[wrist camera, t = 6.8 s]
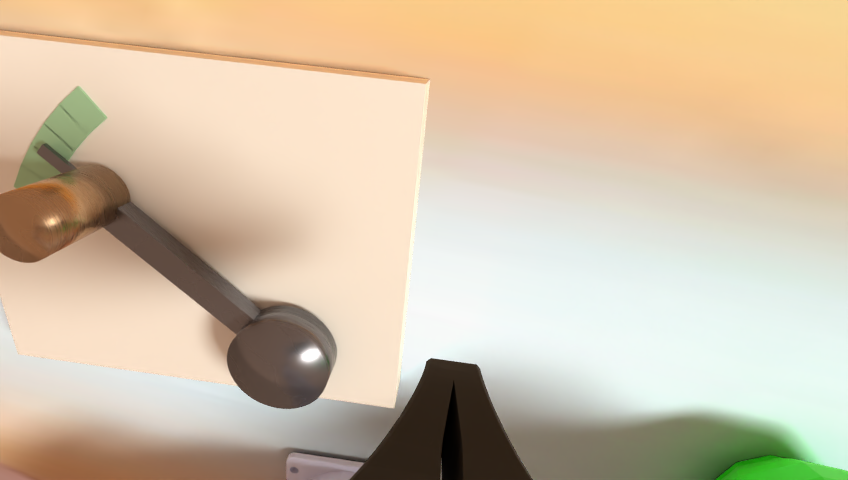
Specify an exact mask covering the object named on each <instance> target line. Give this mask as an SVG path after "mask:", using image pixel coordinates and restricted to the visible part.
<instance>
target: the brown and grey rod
mask: <svg viewBox="0 0 848 480" xmlns="http://www.w3.org/2000/svg"><path fill="white" fill-rule="evenodd" d="M37 154H38V155H40V156H41V157H42V158H43V159H45V160H46V161H47V162H48V163H49V164H51V165H52V166H53V167H54V168H56V169H57V170H58V171H59V172H61V173H62V174H59V175H56V176H53V177H50V178H47V179H44V180H41V181H38V182H35V183H32V184H29V185H26V186H23V187H20V188H17V189H14V190H11V191H8V192H5V193H2V194H0V253H2V254H3V255H5V256H6V257H8V258H10V259H13V260H15V261H18V262H23V263H34V262H38V261H40V260H42V259H44V258H46V257H48V256H50V255H52V254H54V253H55V252H57V251H59V250H61V249H63V248H65V247H67V246H69V245H71V244H73V243H75V242H77V241H78V240H80V239H82V238H84V237H86V236H88V235H90V234H92V233H94V232H96V231H98V230H100V229H101V228H104V229H106V230H107V231H108V232H109V233H111V234H112V235H113V236H114V237H115V238H117V239H118V240H119V241H120V242H122V243H123V244H124V245H125V246H127V247H128V248H129V249H130V250H132V251H133V252H134V253H135V254H137V255H138V256H139V257H140V258H142V259H143V260H144V261H145V262H147V263H148V264H149V265H150V266H152V267H153V268H154V269H155V270H157V271H158V272H159V273H160V274H162V275H163V276H164V277H165V278H167V279H168V280H169V281H170V282H172V283H173V284H174V285H175V286H177V287H178V288H179V289H180V290H182V291H183V292H184V293H185V294H187V295H188V296H189V297H190V298H191V299H193V300H194V301H195V302H196V303H198V304H199V305H200V306H201V307H203V308H204V309H205V310H206V311H208V312H209V313H210V314H211V315H213V316H214V317H215V318H216V319H218V320H219V321H220V322H221V323H223V324H224V325H225V326H226V327H228V328H229V329H230V330H231V331H233V332H234V333H235V334H236V337H235V338H234V339H233V340H232V342H231V344H230V346H229V348H228V352H227V365H228V369H229V372H230V374H231V377H232V378H233V380H234V382H235V383H236V384H237V385H238V387H239V388H240V389H241V390H242V391H243V392H244V393H246V394H247V395H248V396H250V397H251V398H253V399H254V400H256V401H258V402H260V403H262V404H265V405H268V406H271V407H276V408H283V409H291V408H298V407H302V406H305V405H308V404H310V403H312V402H313V401H315V400H316V399H317V398H318V397H319V396H320V395H321V394H322V393H323V391H324V389H325V387H326V385H327V382H328V380H329V378H330V375H331V373H332V370H333V368H334V365H335V362H336V358H337V347H336V343H335V340H334V338H333V335H332V334H331V332H330V330H329V329H328V328H327V327H326V325H325V324H324V323H323V322H322V321H321V320H319V319H318V318H317V317H315V316H314V315H312V314H311V313H309V312H307V311H305V310H302V309H299V308H296V307H291V306H271V307H267V308H264V309H262V310H261V309H260V308H258V307H257V306H256V305H255V304H254V303H252V302H251V301H250V300H249V299H248V298H246V297H245V296H244V295H243V294H242V293H240V292H239V291H238V290H237V289H236V288H234V287H233V286H232V285H231V284H230V283H228V282H227V281H226V280H225V279H224V278H222V277H221V276H220V275H219V274H218V273H216V272H215V271H214V270H213V269H212V268H210V267H209V266H208V265H207V264H206V263H204V262H203V261H202V260H201V259H199V258H198V257H197V256H196V255H195V254H193V253H192V252H191V251H190V250H189V249H187V248H186V247H185V246H184V245H183V244H181V243H180V242H179V241H178V240H177V239H175V238H174V237H173V236H172V235H171V234H169V233H168V232H167V231H166V230H165V229H163V228H162V227H161V226H160V225H159V224H157V223H156V222H155V221H154V220H153V219H151V218H150V217H149V216H148V215H146V214H145V213H144V212H143V211H142V210H140V209H139V208H138V207H137V206H136V205H134V204H133V203H132V202H131V198H130V193H129V190H128V188H127V186H126V184H125V183H124V181H123V180H122V179H121V178H120V176H118V175H117V174H116V173H115V172H114V171H112V170H111V169H109V168H107V167H105V166H102V165H97V164H90V165H85V166H82V167H79V168H76V167H75V166H74V165H72V164H71V163H70V162H69V161H68V160H66V159H65V158H64V157H63V156H61V155H60V154H59V153H58V152H57V151H55V150H54V149H53V148H52V147H51V146H49V145H48V144H47V143H45V144H42V145H41V147H40V148H39V150H38V152H37Z"/></svg>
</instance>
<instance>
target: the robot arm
mask: <svg viewBox="0 0 848 480" xmlns="http://www.w3.org/2000/svg"><path fill="white" fill-rule="evenodd" d="M441 457H442V480H533V479H532V478H531V476H530V475H529V473H528V471H527V470H526V468H525V467H524V465H523V463H522V462H521V460H520V458H519V456H518V455H517V453H516V451H515V449H514V447H513V446H512V444H511V442H510V440H509V438H508V436H507V434H506V432H505V430H504V428H503V426H502V424H501V422H500V420H499V418H498V416H497V413H496V411H495V409H494V407H493V404H492V402H491V400H490V397H489V395H488V392H487V389H486V387H485V384H484V381H483V378H482V374H481V371H480V368H479V367H478V366H477V365H476V364H468V363H461V362H454V361H447V360H440V359H433V358H431V359H429V360H428V361H426V366H425V369H424V372H423V375H422V377H421V379H420V381H419V383H418V386H417V388H416V390H415V392H414V393H413V395H412V397H411V399H410V400H409V402H408V404H407V405H406V407H405V409H404V411H403V412H402V414H401V415H400V417H399V418H398V420H397V421H396V423H395V424H394V426H393V427H392V428H391V430H390V431H389V433H388V434H387V436H386V437H385V438H384V440H383V441H382V442H381V444H380V445H379V446H378V447H377V449H376V450H375V451H374V452H373V453H372V455H371V456H370V457H369V458H368V460H367V461H366V462H365V463H362V462H356V461H349V460H342V459H336V458H329V457H322V456H316V455H309V454H302V453H291V454H289V455H288V457H287V460H286V480H440V471H441Z"/></svg>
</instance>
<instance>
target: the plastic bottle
mask: <svg viewBox="0 0 848 480" xmlns="http://www.w3.org/2000/svg"><path fill="white" fill-rule="evenodd" d="M715 480H848V471H845V470H842V469H837V468H833V467H828V466H824V465H819V464H815V463H810V462H806V461H801V460H797V459H792V458H781V457H777V456H772V455H768V456H763V457H759V458H754V459H750V460H745V461H741V462H736V463H735V464H734V465H733V466H731V467H730V468H729V469H728V470H726V471H725V472H724V473H723V474H721V475H720V476H719V477H718V478H716V479H715Z"/></svg>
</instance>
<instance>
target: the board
mask: <svg viewBox="0 0 848 480" xmlns="http://www.w3.org/2000/svg"><path fill="white" fill-rule="evenodd" d="M429 85H430V79H424V78H415V77H406V76H398V75H389V74H380V73H371V72H363V71H354V70H345V69H336V68H328V67H319V66H310V65H301V64H292V63H284V62H275V61H266V60H257V59H249V58H240V57H231V56H222V55H214V54H205V53H196V52H187V51H179V50H170V49H161V48H152V47H143V46H135V45H126V44H117V43H108V42H100V41H91V40H82V39H73V38H65V37H56V36H47V35H38V34H29V33H21V32H12V31H3V30H0V194H2V193H5V192H8V191H11V190H14V189H17V188H20V187H23V186H26V185H29V184H32V183H35V182H38V181H41V180H44V179H47V178H50V177H53V176H56V175H59V174H62V173H61V172H59V171H58V170H57V169H56V168H54V167H53V166H52V165H51V164H49V163H48V162H47V161H46V160H45V159H43V158H42V157H41V156H40V155H38V154H37V152H38V150H39V148H40V147H41V145H42V144H45V143H47V144H48V145H49V146H51V147H52V148H53V149H54V150H55V151H57V152H58V153H59V154H60V155H61V156H63V157H64V158H65V159H66V160H68V161H69V162H70V163H71V164H72V165H74V166H75V167H76V168H79V167H82V166H85V165H90V164H97V165H102V166H105V167H107V168H109V169H111V170H112V171H114V172H115V173H116V174H117V175H118V176H120V178H121V179H122V180H123V181H124V183H125V184H126V186H127V188H128V190H129V193H130V198H131V202H132V203H133V204H134V205H136V206H137V207H138V208H139V209H140V210H142V211H143V212H144V213H145V214H146V215H148V216H149V217H150V218H151V219H153V220H154V221H155V222H156V223H157V224H159V225H160V226H161V227H162V228H163V229H165V230H166V231H167V232H168V233H169V234H171V235H172V236H173V237H174V238H175V239H177V240H178V241H179V242H180V243H181V244H183V245H184V246H185V247H186V248H187V249H189V250H190V251H191V252H192V253H193V254H195V255H196V256H197V257H198V258H199V259H201V260H202V261H203V262H204V263H206V264H207V265H208V266H209V267H210V268H212V269H213V270H214V271H215V272H216V273H218V274H219V275H220V276H221V277H222V278H224V279H225V280H226V281H227V282H228V283H230V284H231V285H232V286H233V287H234V288H236V289H237V290H238V291H239V292H240V293H242V294H243V295H244V296H245V297H246V298H248V299H249V300H250V301H251V302H252V303H254V304H255V305H256V306H257V307H258V308H260V309H261V310H262V309H264V308H267V307H271V306H291V307H296V308H299V309H302V310H305V311H307V312H309V313H311V314H312V315H314V316H315V317H317V318H318V319H319V320H321V321H322V322H323V323H324V324H325V325H326V327H327V328H328V329H329V330H330V332H331V334H332V335H333V338H334V340H335V343H336V347H337V358H336V362H335V365H334V368H333V370H332V373H331V375H330V378H329V380H328V382H327V385H326V387H325V389H324V391H323V393H322V394H321V395H320V396H319V397H318V398H325V399H332V400H339V401H346V402H353V403H359V404H366V405H373V406H380V407H387V408H394V407H395V402H396V397H397V392H398V388H399V383H400V375H401V365H402V355H403V345H404V335H405V325H406V315H407V305H408V295H409V285H410V275H411V265H412V255H413V245H414V235H415V225H416V215H417V205H418V195H419V185H420V175H421V165H422V155H423V145H424V135H425V125H426V115H427V105H428V95H429ZM0 297H1V300H2V303H3V307H4V310H5V313H6V316H7V320H8V323H9V326H10V329H11V333H12V336H13V339H14V342H15V346H16V349H17V352H18V354H20V355H27V356H34V357H41V358H48V359H55V360H62V361H69V362H76V363H83V364H89V365H96V366H103V367H110V368H117V369H124V370H131V371H138V372H145V373H152V374H159V375H166V376H173V377H179V378H186V379H193V380H200V381H207V382H214V383H221V384H228V385H235V386H238V385H237V384H236V383H235V382H234V380H233V378H232V377H231V374H230V372H229V369H228V365H227V352H228V348H229V346H230V344H231V342H232V340H233V339H234V338H235V337H236V334H235V333H234V332H233V331H231V330H230V329H229V328H228V327H226V326H225V325H224V324H223V323H221V322H220V321H219V320H218V319H216V318H215V317H214V316H213V315H211V314H210V313H209V312H208V311H206V310H205V309H204V308H203V307H201V306H200V305H199V304H198V303H196V302H195V301H194V300H193V299H191V298H190V297H189V296H188V295H187V294H185V293H184V292H183V291H182V290H180V289H179V288H178V287H177V286H175V285H174V284H173V283H172V282H170V281H169V280H168V279H167V278H165V277H164V276H163V275H162V274H160V273H159V272H158V271H157V270H155V269H154V268H153V267H152V266H150V265H149V264H148V263H147V262H145V261H144V260H143V259H142V258H140V257H139V256H138V255H137V254H135V253H134V252H133V251H132V250H130V249H129V248H128V247H127V246H125V245H124V244H123V243H122V242H120V241H119V240H118V239H117V238H115V237H114V236H113V235H112V234H111V233H109V232H108V231H107V230H106V229H104V228H101V229H100V230H98V231H96V232H94V233H92V234H90V235H88V236H86V237H84V238H82V239H80V240H78V241H77V242H75V243H73V244H71V245H69V246H67V247H65V248H63V249H61V250H59V251H57V252H55V253H54V254H52V255H50V256H48V257H46V258H44V259H42V260H40V261H38V262H34V263H23V262H18V261H15V260H13V259H10V258H8V257H6V256H5V255H3V254H2V253H0Z"/></svg>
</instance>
